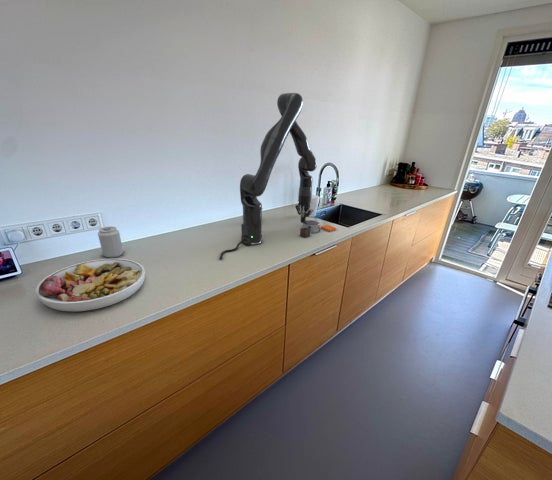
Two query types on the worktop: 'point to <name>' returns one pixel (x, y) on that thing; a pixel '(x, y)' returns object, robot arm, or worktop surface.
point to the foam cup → (314, 205)
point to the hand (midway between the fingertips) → (302, 222)
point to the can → (110, 242)
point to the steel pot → (311, 225)
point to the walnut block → (305, 232)
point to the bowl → (91, 284)
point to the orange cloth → (328, 228)
